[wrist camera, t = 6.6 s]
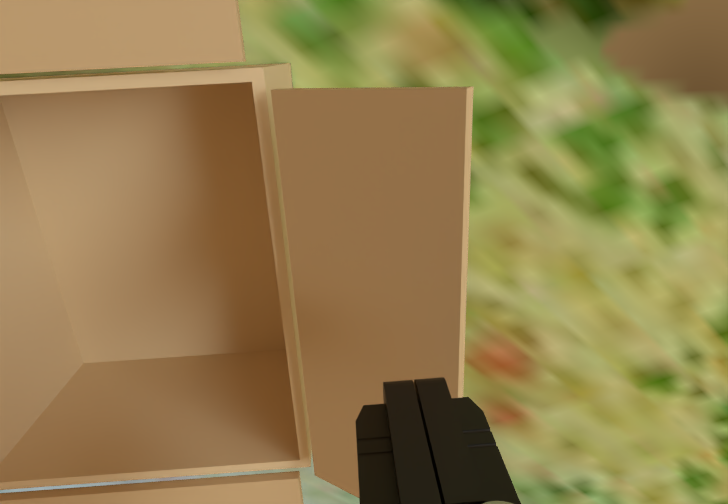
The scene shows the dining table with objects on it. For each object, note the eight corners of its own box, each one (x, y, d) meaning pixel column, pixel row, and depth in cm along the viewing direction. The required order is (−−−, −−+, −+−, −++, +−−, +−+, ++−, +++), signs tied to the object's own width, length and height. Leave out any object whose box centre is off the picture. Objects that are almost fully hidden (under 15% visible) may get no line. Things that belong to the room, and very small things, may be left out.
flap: (314, 475, 20) (320, 468, 20) (453, 546, 17) (458, 537, 17) (270, 89, 14) (279, 88, 14) (466, 88, 11) (472, 86, 11)
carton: (-34, 2, 22) (-284, -33, 13) (285, -13, 22) (249, -58, 13) (95, 409, 30) (-4, 553, 21) (324, 392, 30) (318, 528, 22)
